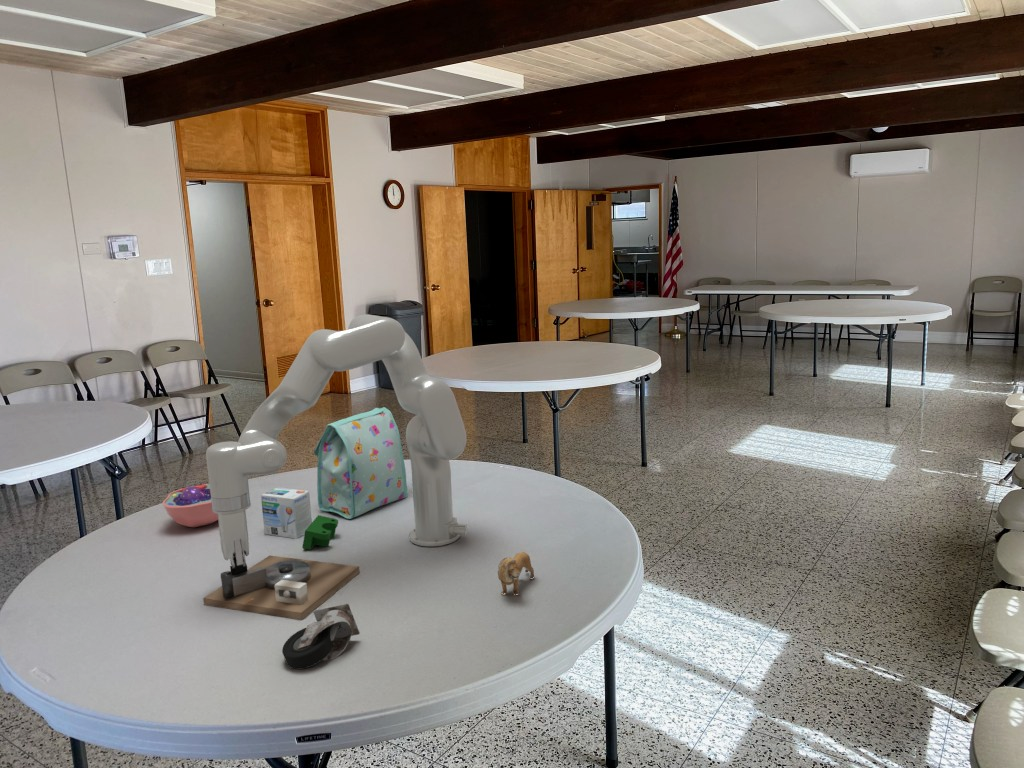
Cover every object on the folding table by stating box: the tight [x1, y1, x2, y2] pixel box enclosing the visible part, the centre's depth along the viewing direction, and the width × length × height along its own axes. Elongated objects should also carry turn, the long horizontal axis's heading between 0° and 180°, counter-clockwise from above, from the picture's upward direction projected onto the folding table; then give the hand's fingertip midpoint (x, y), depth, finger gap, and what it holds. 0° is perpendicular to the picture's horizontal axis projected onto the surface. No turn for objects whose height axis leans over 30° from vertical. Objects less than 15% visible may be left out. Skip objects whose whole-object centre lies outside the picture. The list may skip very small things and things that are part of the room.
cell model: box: [162, 483, 218, 528], centre depth 201 cm, size 17×20×11 cm
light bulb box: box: [260, 487, 313, 540], centre depth 192 cm, size 11×7×11 cm, turn 68°
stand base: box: [202, 555, 360, 621], centre depth 160 cm, size 24×22×5 cm
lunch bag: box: [313, 406, 408, 520], centre depth 209 cm, size 23×16×27 cm
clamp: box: [302, 514, 339, 551], centre depth 185 cm, size 11×6×8 cm, turn 171°
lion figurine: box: [497, 551, 535, 595], centre depth 156 cm, size 15×5×9 cm, turn 164°
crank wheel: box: [220, 560, 311, 599], centre depth 158 cm, size 19×10×5 cm, turn 130°
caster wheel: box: [281, 603, 360, 670], centre depth 133 cm, size 7×12×10 cm
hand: (240, 583), depth 158 cm, fingers closed
